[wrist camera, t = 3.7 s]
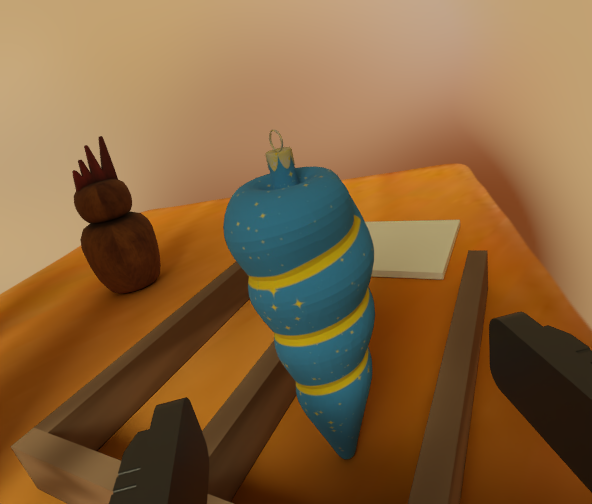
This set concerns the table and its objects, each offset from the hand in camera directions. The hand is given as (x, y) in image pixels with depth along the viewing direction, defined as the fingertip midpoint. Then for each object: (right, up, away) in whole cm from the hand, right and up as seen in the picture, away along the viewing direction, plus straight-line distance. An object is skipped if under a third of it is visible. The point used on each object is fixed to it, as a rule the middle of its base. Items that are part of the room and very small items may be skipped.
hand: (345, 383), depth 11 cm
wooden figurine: (-18, 0, +32) cm, 37 cm away
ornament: (+1, -6, +9) cm, 11 cm away
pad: (+7, +4, +29) cm, 30 cm away
